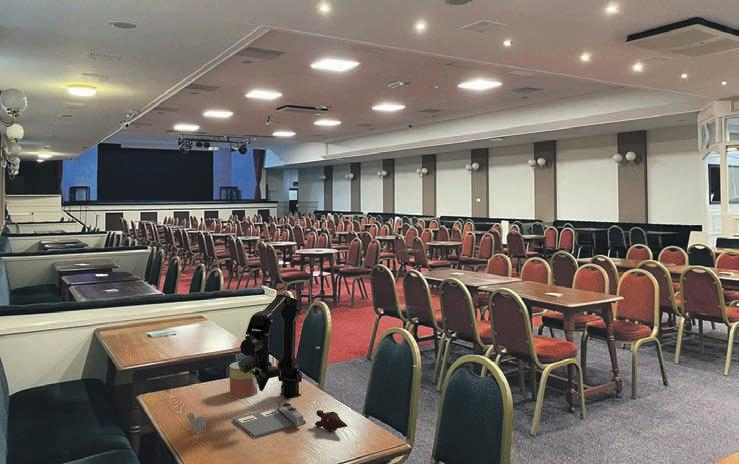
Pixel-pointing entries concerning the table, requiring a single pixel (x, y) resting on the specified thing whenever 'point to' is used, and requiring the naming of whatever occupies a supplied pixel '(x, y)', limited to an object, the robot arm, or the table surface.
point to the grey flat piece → (197, 423)
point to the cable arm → (290, 412)
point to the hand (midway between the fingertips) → (261, 390)
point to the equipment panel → (264, 422)
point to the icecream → (329, 421)
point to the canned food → (241, 382)
